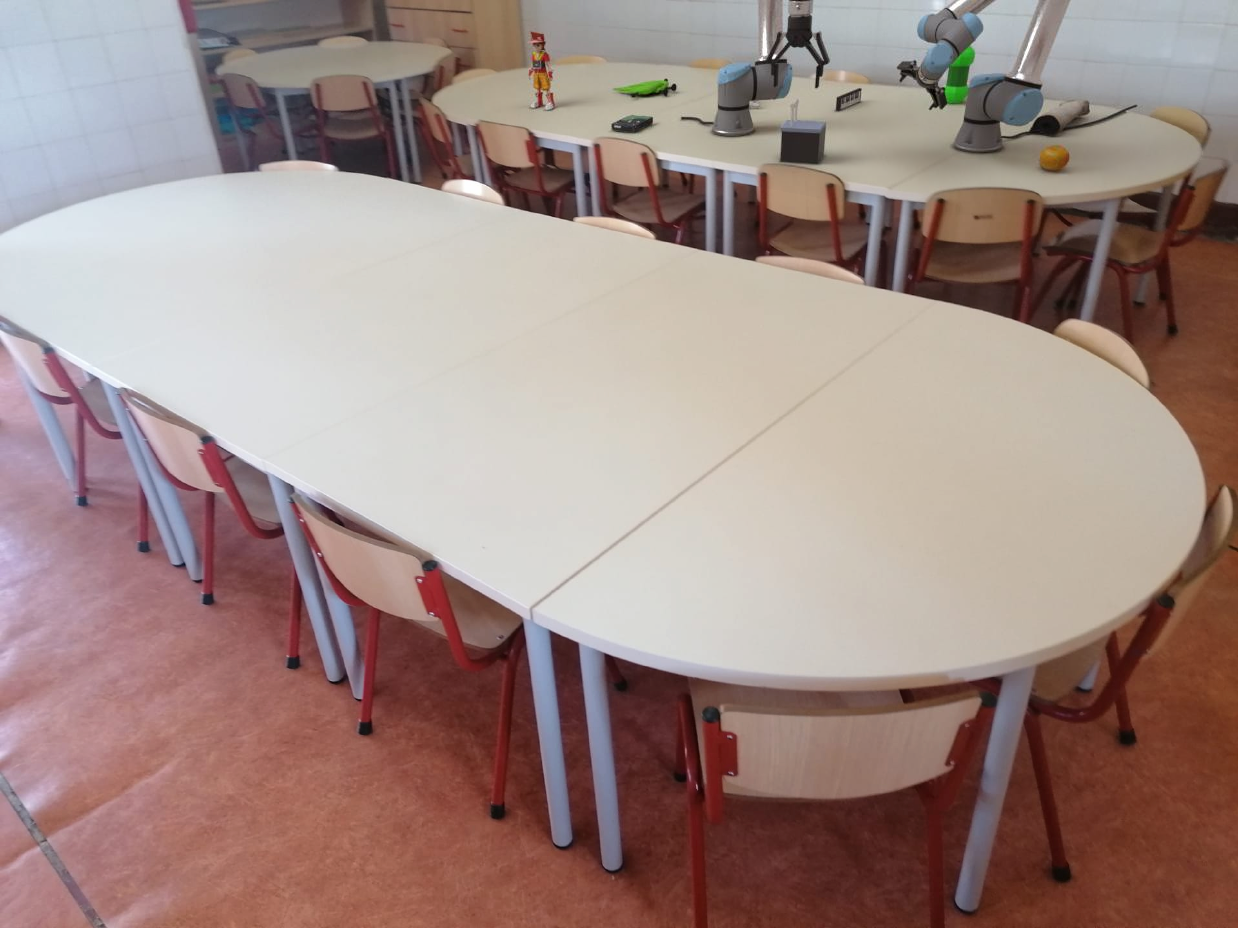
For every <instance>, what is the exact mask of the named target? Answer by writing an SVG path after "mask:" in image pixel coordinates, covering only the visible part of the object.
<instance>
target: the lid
mask: <svg viewBox="0 0 1238 928" xmlns="http://www.w3.org/2000/svg"><path fill="white" fill-rule="evenodd" d="M799 103H800V100H799V99H798V98H797V99H795V100H793V102H792V103H791V104H790V105H789V106H790V108H791V109H790V119H787V120H785V122H784V123H782V125H781V126H780V127H779V132H782V131H786V132H806V133H820V132H821V131H822V130H823V128H824V127H825V126H826V127H827V121H824V120H823V121H821V120H803V119H802V120H801V119H800V120H798V105H799Z"/></svg>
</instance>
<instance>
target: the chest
mask: <svg viewBox="0 0 1238 928" xmlns="http://www.w3.org/2000/svg"><path fill="white" fill-rule="evenodd" d="M826 130H827V125H826V126H825V127H824V128H823V130H822V131H821V132H820V133H806V132H786V131H781V137H780V139H781V140H780V159H779V162H781V163H793V164H809V165H811V164H812V165H818V164H819V163H820V162H821V160H822V158H823V157H824V155H825V145H826Z"/></svg>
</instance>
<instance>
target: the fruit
mask: <svg viewBox="0 0 1238 928" xmlns="http://www.w3.org/2000/svg"><path fill="white" fill-rule="evenodd" d="M1070 158H1071V157H1070V152H1069V150H1068V149H1067V148H1066V147H1065V146H1062V145H1057V144H1056V145H1055V144H1054V145H1049V146H1046V147H1045V148H1043V149H1042V150H1041V152H1040V153H1039V157H1038V163H1039V166H1040V167H1041V168H1042V169H1043V170H1046V171H1054V172H1055V171H1060V170H1062V169H1064V168H1065V167H1066V166H1067V165H1068V163H1069V161H1070Z"/></svg>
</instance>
